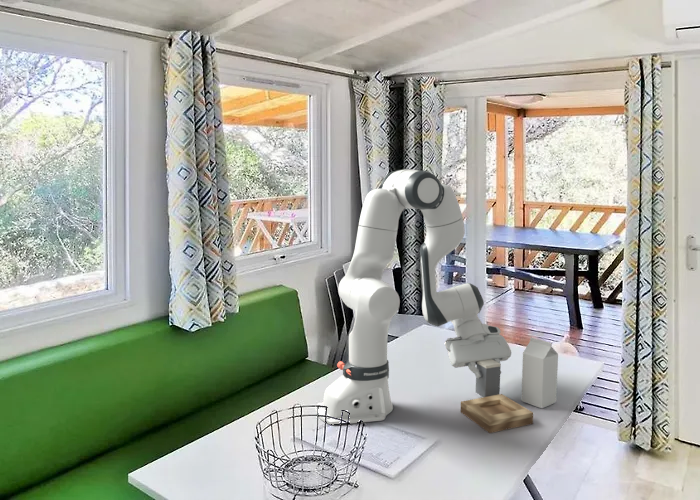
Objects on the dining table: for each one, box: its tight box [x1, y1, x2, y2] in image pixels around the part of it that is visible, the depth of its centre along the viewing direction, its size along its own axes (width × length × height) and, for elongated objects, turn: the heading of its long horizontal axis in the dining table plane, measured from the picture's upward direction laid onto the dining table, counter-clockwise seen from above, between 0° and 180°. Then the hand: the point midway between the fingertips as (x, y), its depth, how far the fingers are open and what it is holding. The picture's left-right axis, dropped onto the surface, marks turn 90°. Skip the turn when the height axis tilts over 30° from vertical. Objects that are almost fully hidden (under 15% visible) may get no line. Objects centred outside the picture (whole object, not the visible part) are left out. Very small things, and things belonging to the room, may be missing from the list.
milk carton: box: [521, 337, 559, 409], centre depth 168 cm, size 7×7×19 cm
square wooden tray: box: [460, 393, 534, 434], centre depth 159 cm, size 14×14×3 cm
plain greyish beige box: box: [475, 359, 501, 398], centre depth 171 cm, size 5×5×10 cm
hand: (489, 375), depth 171 cm, fingers closed on plain greyish beige box, 5 cm apart
